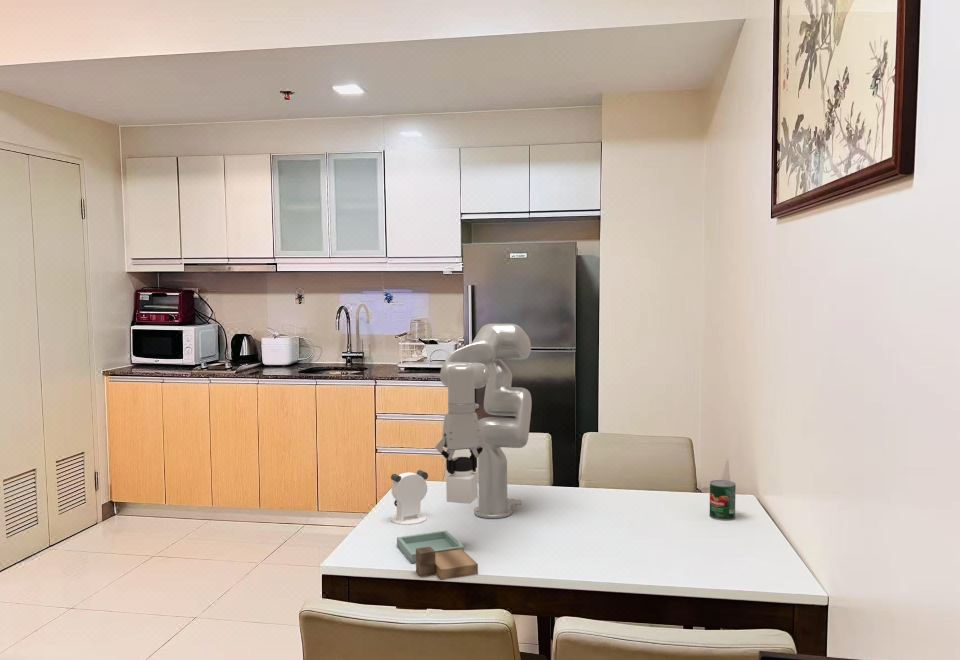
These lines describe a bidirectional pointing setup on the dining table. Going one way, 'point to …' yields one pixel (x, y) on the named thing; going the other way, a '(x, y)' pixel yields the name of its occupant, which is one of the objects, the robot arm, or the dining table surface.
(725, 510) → the canned tomato
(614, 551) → the dining table surface
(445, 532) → the tray
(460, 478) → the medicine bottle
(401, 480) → the panda figurine
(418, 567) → the dark brown wooden block
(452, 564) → the tan wooden block
